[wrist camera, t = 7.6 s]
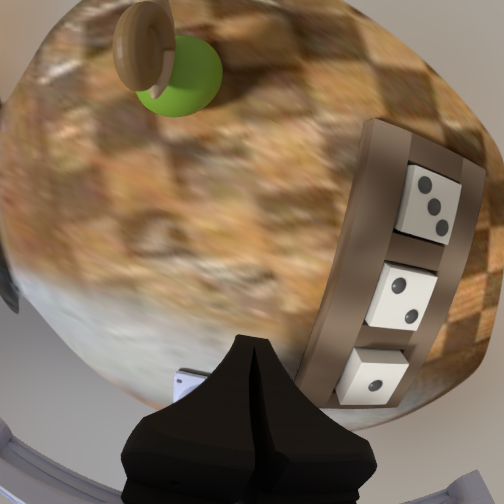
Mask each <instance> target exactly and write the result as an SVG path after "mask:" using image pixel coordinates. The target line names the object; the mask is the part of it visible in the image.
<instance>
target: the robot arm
mask: <svg viewBox="0 0 504 504" xmlns="http://www.w3.org/2000/svg"><path fill="white" fill-rule="evenodd" d="M178 379H180V380H178ZM181 380H182V381H181ZM121 462H122V465H123V467H124V470H125V473H126V476H127V481H126V483H125V486H124V489H123V492H121V491H119V490H116V489H113V488H110V487H108V486H106V485H103V484H100V483H98V482H96V481H94V480H91V479H89V478H87V477H85V476H82V475H80V474H78V473H76V472H74V471H72V470H70V469H68V468H66V467H64V466H62V465H61V464H59V463H57V462H55V461H53V460H51V459H50V458H48V457H46V456H44V455H43V454H41V453H39V452H38V451H36V450H35V449H33V448H31V447H30V446H28V445H27V444H25V443H24V442H22V441H21V440H19V439H18V438H16V437H15V436H13V435H12V432H11V430H10V429H9V427H8V425H7V424H6V423H5V422H4V421H3V420H2V419H1V418H0V493H1V494H2V495H4V496H5V497H6V498H8V499H9V500H10V501H12V502H13V503H14V504H356V501H357V500H358V499H359V497H360V496H359V492H358V489H359V488H360V487H361V486H362V485H363V484H364V483H365V482H366V481H367V480H368V479H369V478H370V477H371V476H372V475H373V474H374V472H375V471H376V468H377V463H376V460H375V457H374V453H373V450H372V449H371V446H370V444H369V442H368V441H367V440H366V439H364V438H361V437H360V436H358V435H356V434H354V433H352V432H351V431H349V430H347V429H345V428H344V427H342V426H341V425H339V424H338V423H336V422H335V421H333V420H332V419H331V418H329V417H328V416H327V415H326V414H324V413H323V412H322V411H321V410H320V409H319V408H317V407H316V406H315V405H314V404H313V403H312V402H311V401H310V400H309V399H308V398H307V397H306V396H305V395H304V394H303V393H302V392H301V391H300V389H299V388H298V387H297V386H296V384H295V383H294V382H293V380H292V379H291V378H290V376H289V375H288V373H287V372H286V370H285V369H284V367H283V365H282V364H281V362H280V360H279V359H278V357H277V355H276V353H275V351H274V349H273V347H272V345H271V343H270V341H269V340H268V339H263V338H257V337H251V336H245V335H240V334H238V335H237V336H235V340H234V343H233V345H232V347H231V348H230V350H229V352H228V353H227V355H226V356H225V358H224V359H223V360H222V362H221V363H220V364H219V365H218V366H217V368H216V369H215V370H214V371H213V372H212V373H211V374H210V375H209V376H208V377H206V376H201V375H197V374H192V373H188V372H183V371H176V372H175V375H174V400H173V404H171V405H169V406H168V407H166V408H164V409H162V410H159V411H157V412H155V413H152V414H150V415H148V416H146V417H143V419H142V420H141V421H140V422H139V423H138V424H137V426H136V427H135V429H134V430H133V431H132V433H131V434H130V436H129V438H128V440H127V442H126V444H125V446H124V448H123V451H122V453H121ZM401 504H495V503H494V501H493V499H492V497H491V495H490V493H489V491H488V489H487V487H486V485H485V483H484V481H483V479H482V477H481V475H480V473H479V471H478V470H475V471H472V472H470V473H468V474H466V475H463V476H461V477H460V478H458V479H457V480H455V481H454V482H453V483H451V484H450V485H449V486H448V487H447V488H446V489H444V490H441V491H439V492H436V493H433V494H430V495H427V496H424V497H421V498H418V499H415V500H412V501H408V502H405V503H401Z"/></svg>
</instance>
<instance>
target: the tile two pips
mask: <svg viewBox="0 0 504 504" xmlns="http://www.w3.org/2000/svg"><path fill="white" fill-rule="evenodd" d="M437 278H438V277H436V276H435V275H434V274H432V273H431V272H429V271H428V270H426V269H425V268H420V267H416V266H411V265H407V264H402V263H398V262H393V261H389V260H384V263H383V266H382V269H381V272H380V276H379V279H378V282H377V285H376V288H375V291H374V293H373V296H372V299H371V302H370V305H369V307H368V310H367V313H366V316H365V318H364V319H365V320H366V322H367V323H368V325H369V326H373V327H382V328H392V329H403V330H414V331H417V329H418V326H419V324H420V322H421V320H422V317H423V315H424V312H425V310H426V308H427V305H428V302H429V300H430V297H431V295H432V292H433V289H434V287H435V284H436V281H437Z"/></svg>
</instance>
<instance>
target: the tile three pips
mask: <svg viewBox="0 0 504 504" xmlns="http://www.w3.org/2000/svg"><path fill="white" fill-rule="evenodd" d="M461 186H462V185H460V184H458V183H456V182H454V181H451V180H449V179H447V178H445V177H443V176H440V175H438V174H436V173H433V172H431V171H429V170H426V169H424V168H421V167H419V166H416V165H407V168H406V174H405V179H404V184H403V189H402V194H401V198H400V203H399V207H398V211H397V215H396V220H395V224H394V227H393V228H395V229H397V230H399V231H401V232H405V233H408V234H412V235H416V236H419V237H423V238H426V239H429V240H433V241H436V242H439V243H443V244H446V245H448V243H449V239H450V236H451V232H452V228H453V224H454V220H455V216H456V211H457V207H458V202H459V197H460V192H461Z"/></svg>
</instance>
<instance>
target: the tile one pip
mask: <svg viewBox="0 0 504 504" xmlns="http://www.w3.org/2000/svg"><path fill="white" fill-rule="evenodd" d="M408 366H409V363H408V362H407V360H406V359H405V357H404V356H403V354H402V353H401V351H400V350H399V349H385V348H370V347H358V346H353V348H352V350H351V353H350V355H349V357H348V359H347V362H346V364H345V366H344V368H343V371H342V373H341V375H340V377H339V379H338V381H337V383H336V385H335V390H336V393H337V396H338V399H339V403H340V405H379V404H386V403H387V402H388V400H389V399H390V397H391V395H392V394H393V392H394V390H395V389H396V387H397V385H398V384H399V382H400V380H401V378H402V377H403V375H404V373H405V371H406V369H407V368H408Z"/></svg>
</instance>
